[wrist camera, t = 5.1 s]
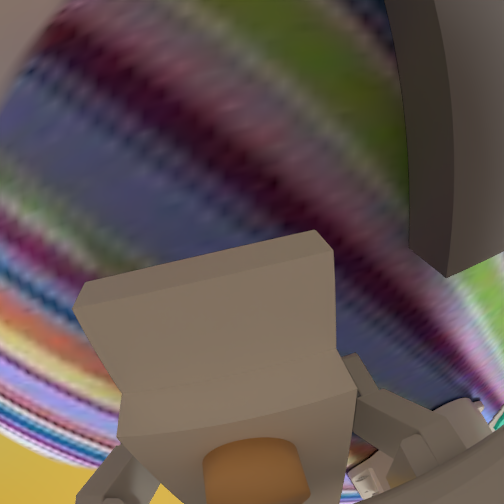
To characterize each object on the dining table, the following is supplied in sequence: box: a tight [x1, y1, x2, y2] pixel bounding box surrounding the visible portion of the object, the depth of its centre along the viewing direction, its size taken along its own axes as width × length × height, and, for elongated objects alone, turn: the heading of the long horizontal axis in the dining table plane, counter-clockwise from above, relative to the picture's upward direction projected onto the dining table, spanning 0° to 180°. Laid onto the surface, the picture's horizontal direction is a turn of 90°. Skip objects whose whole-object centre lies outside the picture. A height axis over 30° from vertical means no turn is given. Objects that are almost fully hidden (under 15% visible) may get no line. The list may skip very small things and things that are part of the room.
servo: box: [72, 230, 357, 504], centre depth 8 cm, size 11×4×6 cm, turn 10°
